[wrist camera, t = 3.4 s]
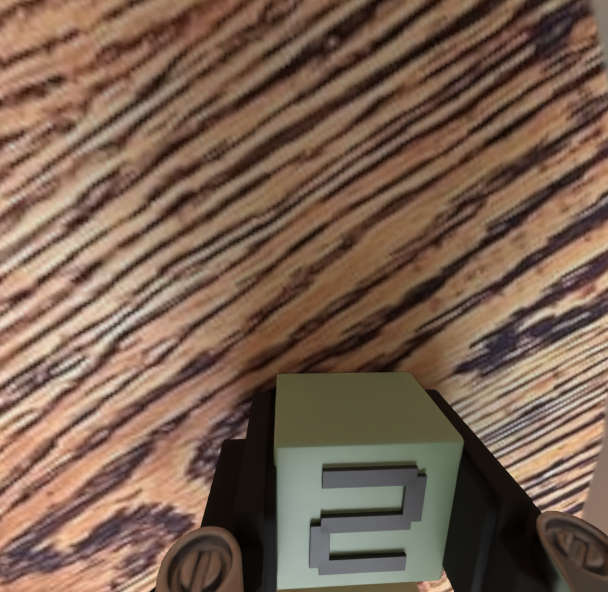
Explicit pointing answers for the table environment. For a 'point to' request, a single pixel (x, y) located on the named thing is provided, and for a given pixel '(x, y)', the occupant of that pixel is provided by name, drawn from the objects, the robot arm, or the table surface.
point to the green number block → (361, 479)
